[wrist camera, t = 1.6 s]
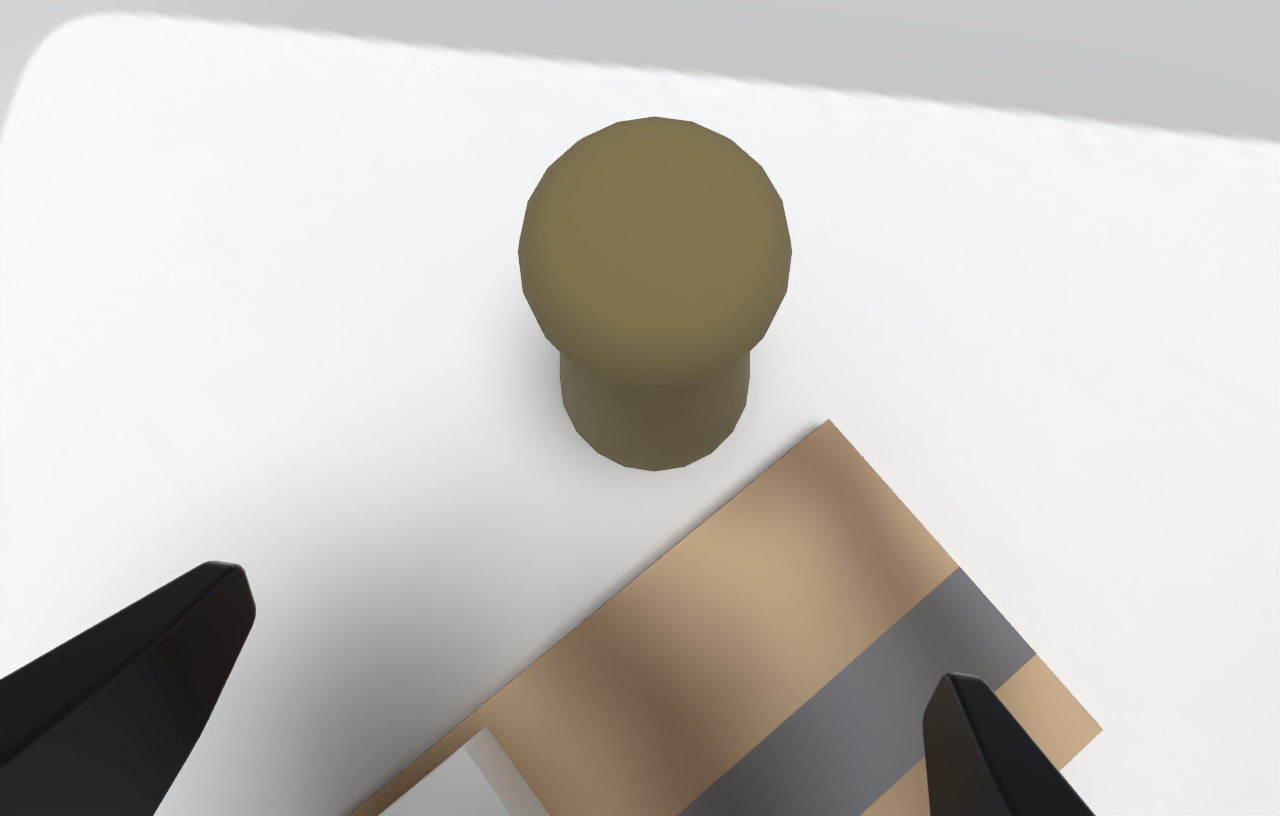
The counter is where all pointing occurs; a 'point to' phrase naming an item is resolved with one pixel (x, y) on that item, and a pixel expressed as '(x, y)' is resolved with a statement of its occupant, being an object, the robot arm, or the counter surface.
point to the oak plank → (767, 665)
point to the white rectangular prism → (471, 785)
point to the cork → (654, 284)
